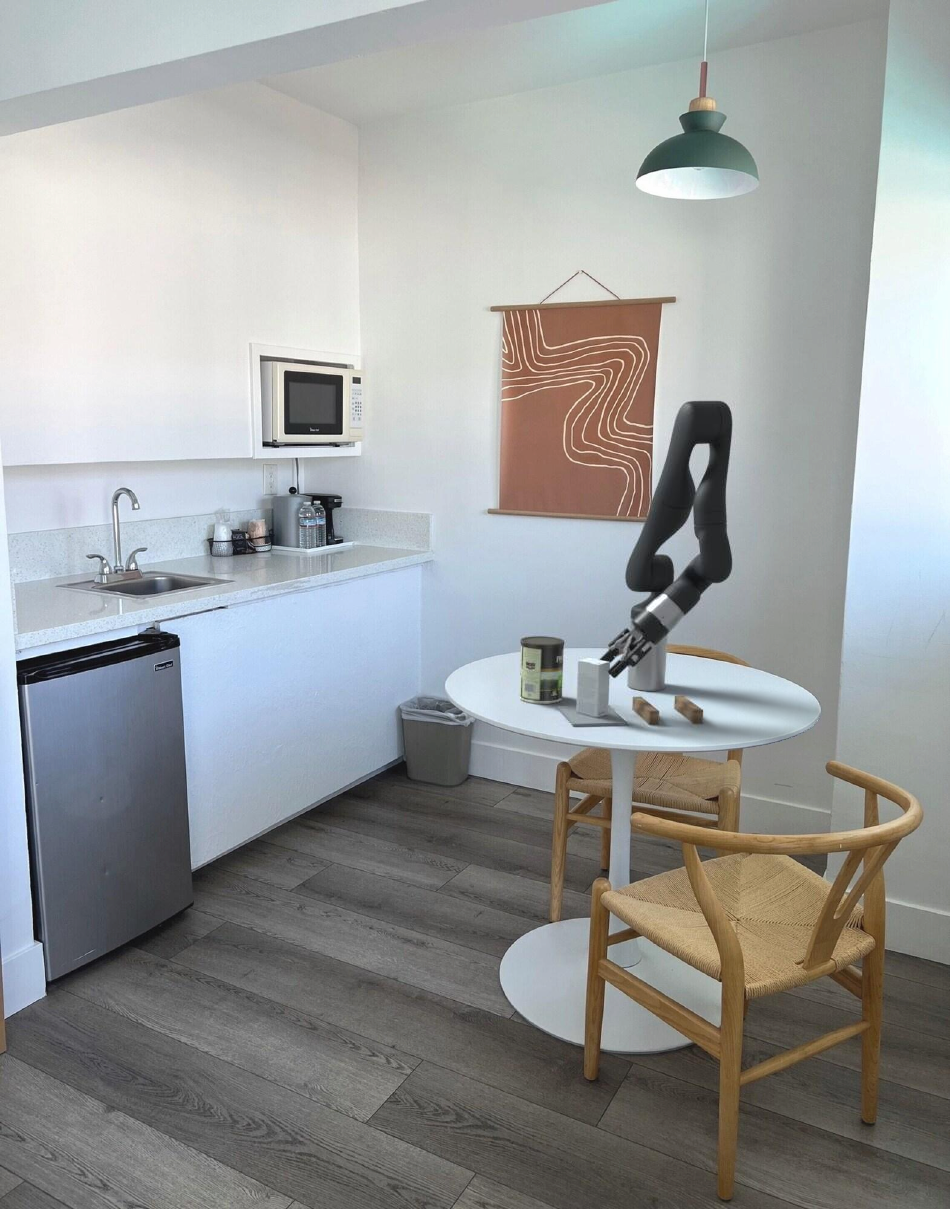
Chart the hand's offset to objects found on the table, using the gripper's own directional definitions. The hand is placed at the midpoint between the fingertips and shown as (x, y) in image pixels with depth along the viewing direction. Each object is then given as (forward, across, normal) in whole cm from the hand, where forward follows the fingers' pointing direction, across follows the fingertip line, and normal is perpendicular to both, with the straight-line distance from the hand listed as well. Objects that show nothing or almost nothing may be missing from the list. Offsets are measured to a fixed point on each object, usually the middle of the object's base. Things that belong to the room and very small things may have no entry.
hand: (605, 670), depth 208 cm
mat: (+9, 0, +5) cm, 11 cm away
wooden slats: (-3, +1, +17) cm, 18 cm away
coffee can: (+15, -16, 0) cm, 22 cm away
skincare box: (+9, 0, +5) cm, 10 cm away
